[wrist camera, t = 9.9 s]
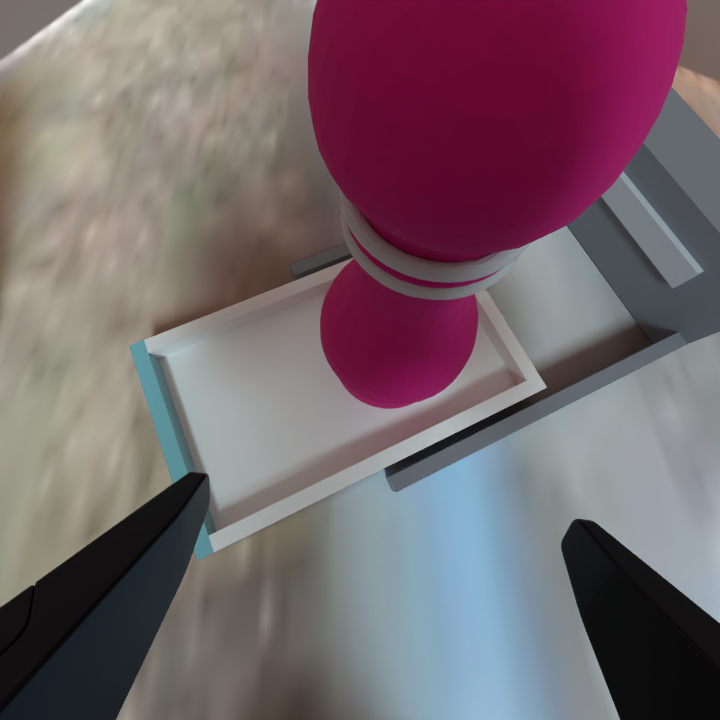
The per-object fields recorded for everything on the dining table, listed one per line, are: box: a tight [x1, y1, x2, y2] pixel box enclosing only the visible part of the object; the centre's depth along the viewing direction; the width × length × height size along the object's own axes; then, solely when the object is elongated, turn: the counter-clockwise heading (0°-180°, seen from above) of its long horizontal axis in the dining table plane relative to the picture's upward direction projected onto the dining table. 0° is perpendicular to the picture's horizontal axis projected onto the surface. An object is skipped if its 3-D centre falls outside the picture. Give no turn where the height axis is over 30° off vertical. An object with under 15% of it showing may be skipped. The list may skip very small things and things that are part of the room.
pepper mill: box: [308, 0, 687, 409], centre depth 12 cm, size 7×7×20 cm
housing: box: [289, 87, 720, 492], centre depth 21 cm, size 23×14×7 cm, turn 115°
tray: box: [129, 258, 547, 561], centre depth 21 cm, size 20×12×2 cm, turn 115°
